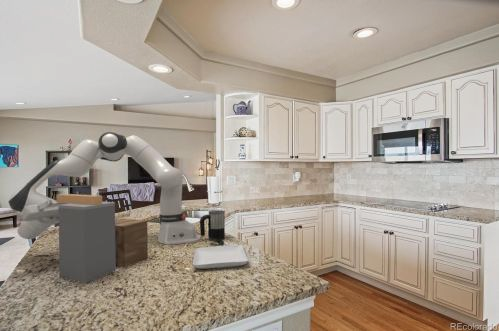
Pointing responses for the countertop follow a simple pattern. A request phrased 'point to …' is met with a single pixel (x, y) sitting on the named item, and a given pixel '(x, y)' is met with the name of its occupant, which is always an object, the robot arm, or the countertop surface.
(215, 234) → the milk frother
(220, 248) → the salad plate
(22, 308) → the countertop surface
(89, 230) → the graphite cabinet
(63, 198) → the orange bar
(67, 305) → the countertop surface
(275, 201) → the countertop surface
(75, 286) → the countertop surface
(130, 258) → the wooden grain cube
